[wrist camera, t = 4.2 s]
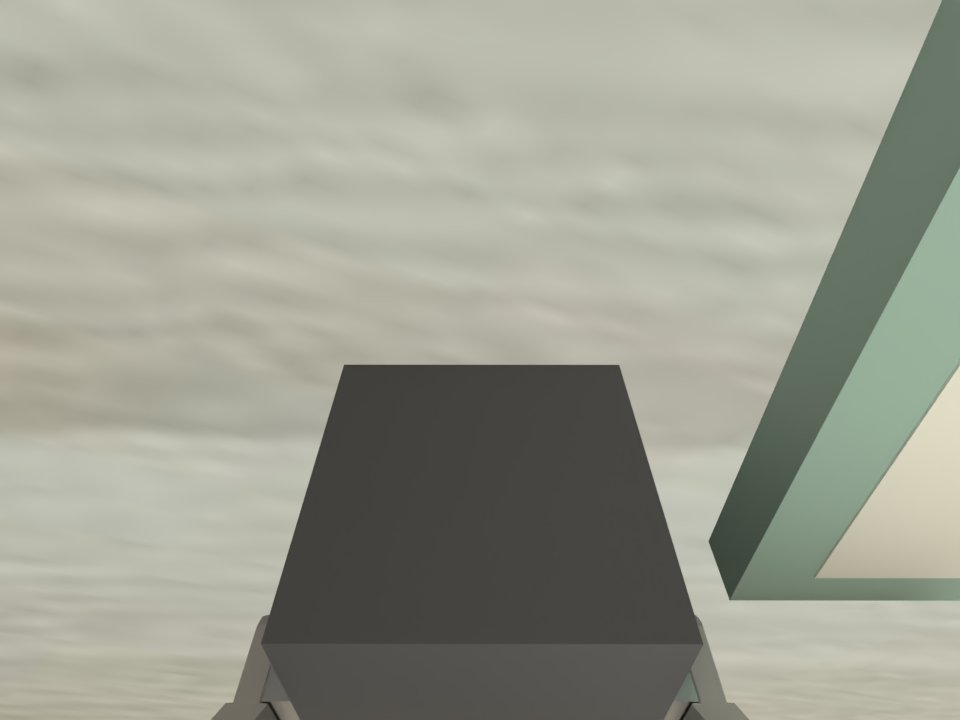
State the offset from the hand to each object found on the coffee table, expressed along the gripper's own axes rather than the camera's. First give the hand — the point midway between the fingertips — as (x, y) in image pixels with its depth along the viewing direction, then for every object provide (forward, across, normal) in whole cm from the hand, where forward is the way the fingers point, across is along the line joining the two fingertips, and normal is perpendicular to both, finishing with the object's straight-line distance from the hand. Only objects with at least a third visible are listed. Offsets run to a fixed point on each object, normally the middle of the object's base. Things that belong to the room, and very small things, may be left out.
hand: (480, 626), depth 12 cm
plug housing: (+2, 0, 0) cm, 2 cm away
